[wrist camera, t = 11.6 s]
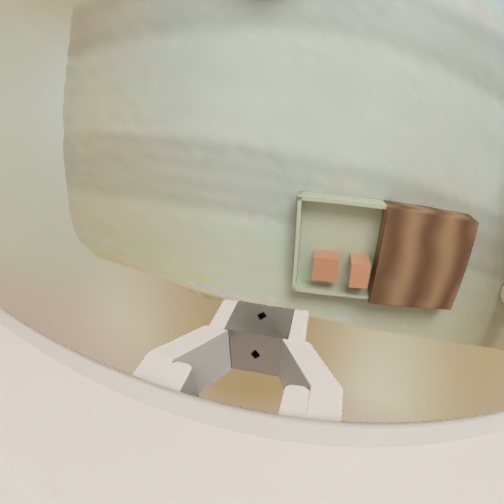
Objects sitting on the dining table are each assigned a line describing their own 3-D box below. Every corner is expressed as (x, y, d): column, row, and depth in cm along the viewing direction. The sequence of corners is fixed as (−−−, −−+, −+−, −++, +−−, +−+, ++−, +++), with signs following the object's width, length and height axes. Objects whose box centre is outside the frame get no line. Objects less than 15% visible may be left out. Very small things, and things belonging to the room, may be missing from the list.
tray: (383, 200, 39) (386, 205, 36) (366, 289, 46) (368, 299, 43) (299, 191, 42) (297, 195, 39) (293, 281, 49) (291, 290, 46)
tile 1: (313, 257, 42) (314, 249, 45) (311, 280, 44) (313, 271, 46) (339, 259, 41) (339, 251, 44) (336, 282, 43) (336, 272, 45)
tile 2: (350, 252, 43) (368, 254, 43) (347, 274, 45) (364, 275, 44) (351, 264, 40) (371, 266, 39) (348, 287, 42) (367, 288, 41)
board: (468, 214, 35) (478, 222, 32) (444, 296, 42) (450, 309, 39) (383, 200, 39) (388, 207, 35) (366, 289, 46) (368, 302, 42)
